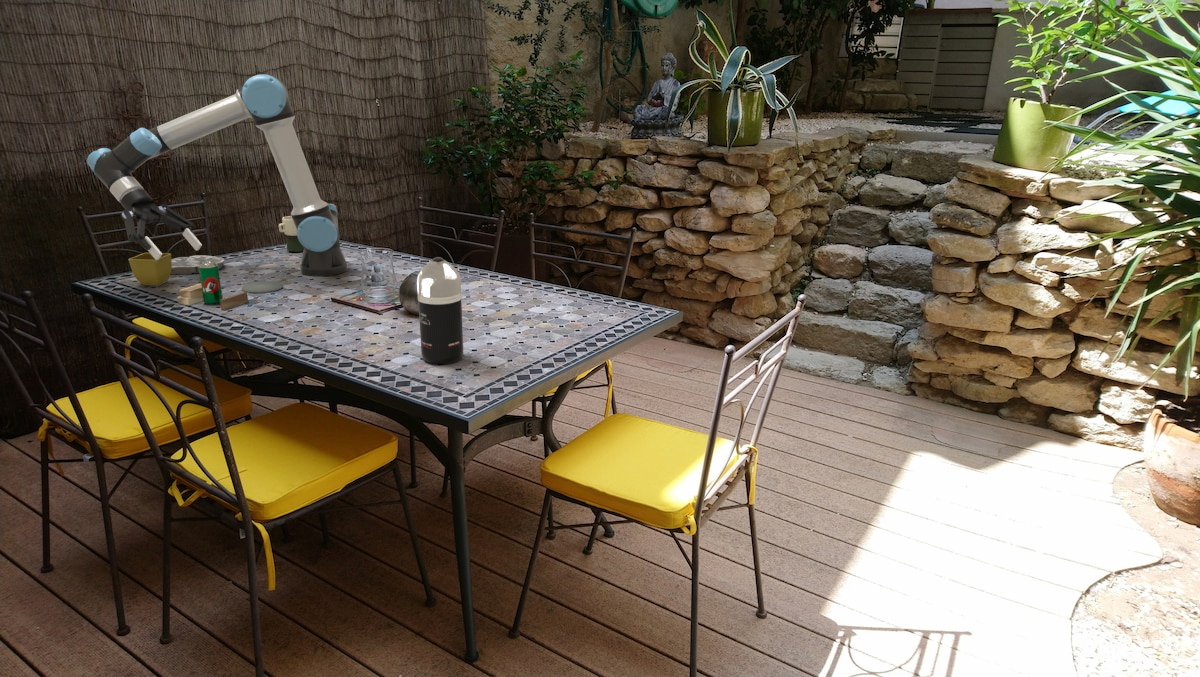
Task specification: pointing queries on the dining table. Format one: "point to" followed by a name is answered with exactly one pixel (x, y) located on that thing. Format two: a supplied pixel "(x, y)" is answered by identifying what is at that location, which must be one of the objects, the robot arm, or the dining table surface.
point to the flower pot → (151, 268)
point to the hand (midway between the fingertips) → (179, 252)
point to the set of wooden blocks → (195, 296)
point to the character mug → (291, 234)
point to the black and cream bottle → (440, 312)
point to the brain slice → (192, 263)
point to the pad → (262, 287)
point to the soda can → (210, 282)
